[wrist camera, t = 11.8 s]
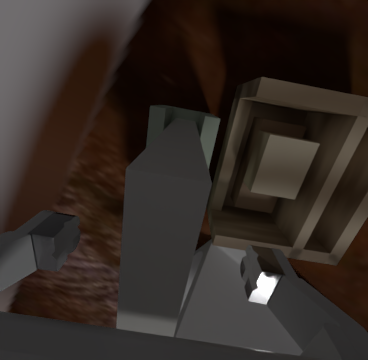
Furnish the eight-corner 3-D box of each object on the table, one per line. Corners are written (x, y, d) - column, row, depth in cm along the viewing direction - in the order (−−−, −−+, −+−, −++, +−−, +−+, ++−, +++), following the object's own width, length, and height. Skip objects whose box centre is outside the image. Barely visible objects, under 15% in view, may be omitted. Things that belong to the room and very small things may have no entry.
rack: (237, 85, 19) (261, 76, 12) (352, 108, 19) (435, 110, 13) (206, 206, 24) (212, 245, 18) (297, 222, 24) (336, 265, 18)
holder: (163, 104, 20) (150, 105, 13) (210, 113, 20) (220, 118, 13) (151, 204, 24) (136, 241, 18) (189, 210, 24) (189, 250, 18)
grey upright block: (175, 117, 19) (126, 168, 4) (195, 121, 19) (212, 183, 4) (163, 203, 23) (112, 387, 8) (179, 206, 23) (159, 393, 8)
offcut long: (254, 116, 19) (262, 118, 17) (292, 123, 19) (307, 126, 17) (230, 196, 22) (234, 206, 20) (263, 201, 22) (271, 213, 20)
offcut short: (259, 130, 17) (270, 134, 15) (302, 138, 17) (320, 143, 15) (243, 181, 19) (250, 191, 16) (282, 187, 19) (294, 199, 17)
